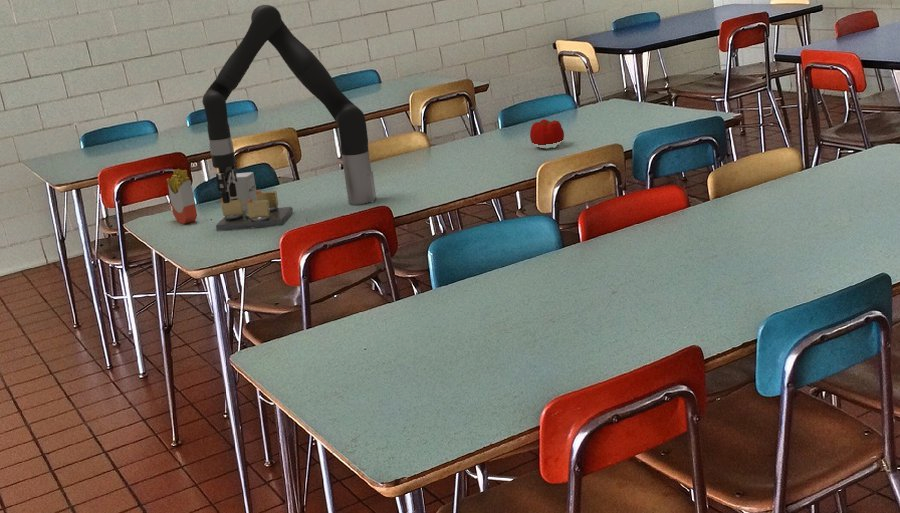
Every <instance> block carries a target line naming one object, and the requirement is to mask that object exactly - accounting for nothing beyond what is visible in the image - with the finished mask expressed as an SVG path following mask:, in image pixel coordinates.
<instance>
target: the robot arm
mask: <svg viewBox="0 0 900 513" xmlns="http://www.w3.org/2000/svg"><path fill="white" fill-rule="evenodd" d="M250 18H251V19H250V20H251V23H250V25H249V27H248V30H247V32H246V34H245V35H244V37H243V38H242V39H241V42H240V43H239V44H238V45H237V47H236V48H235V49H234V51H233V52H231V55H230V56H229V58H228V59H227V60H226V62H225V63H224V65H222V68H221V70H220V71H219V72H218V74H217V76H216V78H215V79H214V81H213V82H212V83H211V84H210V86H209V87H208V89H207V90H206V91H205V93H204V95H203V96H202V105H203V109H204V113H205V116H206V121H207V125H206V126H207V129H206V130H207V134H208V139H209V140H208V141H209V151H210V156H211V162H212V167H213V168H214V169H218V173H216V174H215V177H216V183H217V184H216V185H217V191H218V192H219V193H221V198H222V199H223V203H229V202H230V197H236V196H237V192H236V186H235V185H236V182H237V176H236V174H237V171H236V166H235V165H236V164H237V161H236V155H235V149H234V143H233V139H232V137H231V136H232V135H231V134H232V133H231V130H230V124H229V122H228V121H229V120H228V110H227V109H228V108H227V100H228V98H229V97H230V95H231V93H233V91H235V90H236V89H237V87H238V86H239V84H240V83H241V81H242V80H243V78H244V76H245V75H246V73H247V71H248V70H249V68H250V67H251V66H252V63H253V61H254V60H255V58H256V56H257V55H258V53H259V52H260V50H261V49H262V48H263V46H264V45H265V44H266V42H267V41H268V42H269V43H270V45H271V46H273V47H274V49H275V50H276V51H277V52H278V54H279V56H280V57H281V59H282V60H283V61H284V62H285V64H286V65H287V67H288V68H289V69H290V71H291V72H292V74H293V75H294V76H295V78H297V80H299V82H300V83H301V84H302V85H303V87H305V88H306V89H307V90H308V91H309V92H310V93H311V94H312V95H313V96H314V97H315V98H317V99H318V100H319V102H321V103H322V104H323V106H324V107H325V108H326V109H327V111H328V112H329V114H330V115H331V117H332V118H333V120H334V122H335V123H336V125H337V127H338V133H339V138H340V139H339V140H340V152H341V159H342V160H341V161H342V166H343V173H344V181H345V188H346V193H347V199H348V200H347V201H348V204H350V205H354V206H356V205H357V206H358V205H366V204H365V203H367V204H369V203H368V202H371V203H373V202H372V201H374V200H375V201H376V199H377V194H376V192H377V191H376V185H375V178H374V172H373V170H372V165H371V158H370V152H369V139H368V138H369V137H368V128H367V122H366V116H365V114H364V112H363V110H361V109H360V107H358V106H357V105H356V104H354V103H353V101H351V100H350V99H349V98H348V97H347V96H346V95H345V94H344V93H343V92H342V91H341V90H340V89H339V87H338V85H337V84H336V82H335V81H334V78H333V77H332V76H331V74H330V73H329V71H328V70H327V69H326V67H325V66H324V64H323V63H322V62H321V61H320V59H319V58H318V57H317V56H316V55H315V54H314V53H313V52H312V51H311V50H310V49H309V48H308V47H307V46H306V45H305V44H304V43H302V41H300V40H299V39H298V38H297V37H296V36H295V35H294V34H293V32H291V30H290V29H289V28H288V26H287V25H286V24H285V22H284V21H283V19H282V15H281V13H280V11H279V10H278V9H277V8H276V7H275V6H273V5H270V4H261V5H258V6H257V7H255V8H253V10H252V12H251V17H250ZM223 186H224V188H223ZM228 188H229V191H228ZM229 192H230V197H229ZM375 198H376V199H375ZM375 201H374V202H375Z"/></svg>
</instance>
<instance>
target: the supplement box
mask: <svg viewBox="0 0 900 513" xmlns="http://www.w3.org/2000/svg"><path fill="white" fill-rule="evenodd" d="M236 176H237V182H236V185H235V186H236V192H237V196H236V197H230V199H236V198H241V199H242V204H243V210H244V211H248V207H247V200H248V199H252V201H257V196H256V191H257V186H256V181H255V175H254V172H253V171H252V172H251V171H249V172H240V173H239V172H236ZM229 193H230V192H229Z"/></svg>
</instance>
